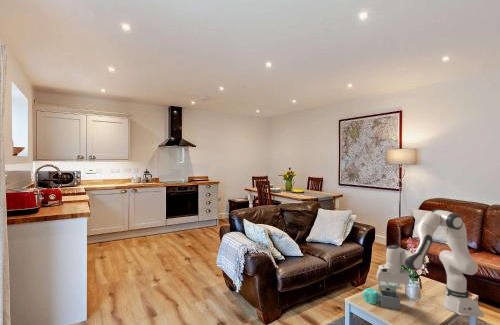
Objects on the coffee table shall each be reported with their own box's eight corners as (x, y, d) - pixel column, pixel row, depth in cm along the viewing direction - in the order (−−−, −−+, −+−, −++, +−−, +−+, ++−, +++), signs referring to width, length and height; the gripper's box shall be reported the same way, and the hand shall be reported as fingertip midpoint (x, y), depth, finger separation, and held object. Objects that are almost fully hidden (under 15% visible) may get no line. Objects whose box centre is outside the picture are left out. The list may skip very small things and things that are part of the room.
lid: (398, 283, 199) (398, 279, 199) (403, 292, 185) (403, 288, 185) (379, 281, 202) (379, 277, 202) (382, 290, 188) (383, 286, 188)
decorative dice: (362, 300, 202) (363, 289, 202) (369, 297, 206) (369, 287, 206) (372, 305, 195) (373, 294, 195) (379, 302, 200) (379, 291, 199)
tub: (396, 302, 199) (396, 291, 199) (399, 310, 190) (400, 298, 190) (378, 299, 203) (379, 289, 203) (381, 307, 193) (381, 296, 193)
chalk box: (388, 289, 218) (388, 271, 218) (396, 295, 209) (396, 276, 209) (377, 290, 217) (378, 272, 216) (385, 296, 208) (386, 277, 207)
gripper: (408, 268, 188) (407, 288, 188) (376, 265, 194) (375, 284, 194) (411, 272, 182) (410, 292, 182) (377, 268, 188) (377, 288, 188)
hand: (392, 288), depth 188 cm, fingers closed on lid, 3 cm apart
